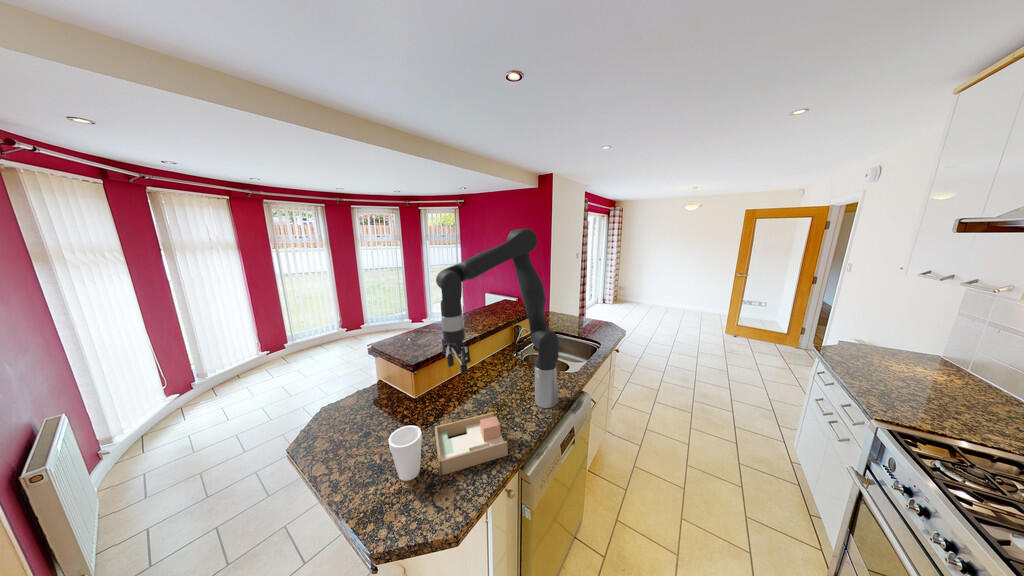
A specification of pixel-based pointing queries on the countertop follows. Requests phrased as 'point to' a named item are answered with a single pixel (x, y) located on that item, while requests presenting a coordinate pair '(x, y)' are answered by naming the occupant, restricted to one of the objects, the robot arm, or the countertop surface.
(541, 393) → the robot arm
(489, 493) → the countertop surface
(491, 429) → the block
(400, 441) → the foam cup
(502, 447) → the box
